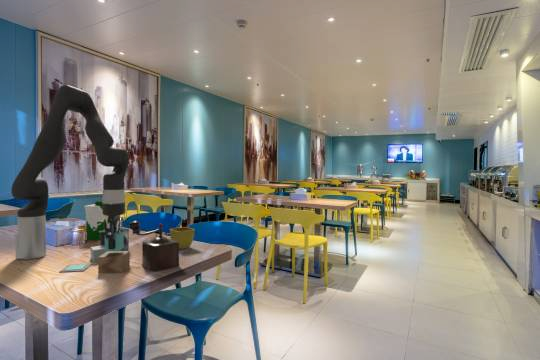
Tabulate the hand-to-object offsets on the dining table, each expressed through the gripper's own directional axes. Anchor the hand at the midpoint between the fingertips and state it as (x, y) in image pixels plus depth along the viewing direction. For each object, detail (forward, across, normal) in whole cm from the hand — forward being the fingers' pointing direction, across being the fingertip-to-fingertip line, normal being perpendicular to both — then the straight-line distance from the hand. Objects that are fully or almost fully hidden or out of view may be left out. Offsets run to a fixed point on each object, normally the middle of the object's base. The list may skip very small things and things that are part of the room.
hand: (114, 247), depth 113 cm
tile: (+8, -3, -14) cm, 17 cm away
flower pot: (+8, -28, +22) cm, 37 cm away
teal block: (+1, 0, 0) cm, 1 cm away
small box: (+9, -22, -6) cm, 24 cm away
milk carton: (+8, -53, -24) cm, 59 cm away
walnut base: (+8, +1, 0) cm, 9 cm away
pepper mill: (+8, 0, +14) cm, 16 cm away
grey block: (+6, -11, -8) cm, 15 cm away
